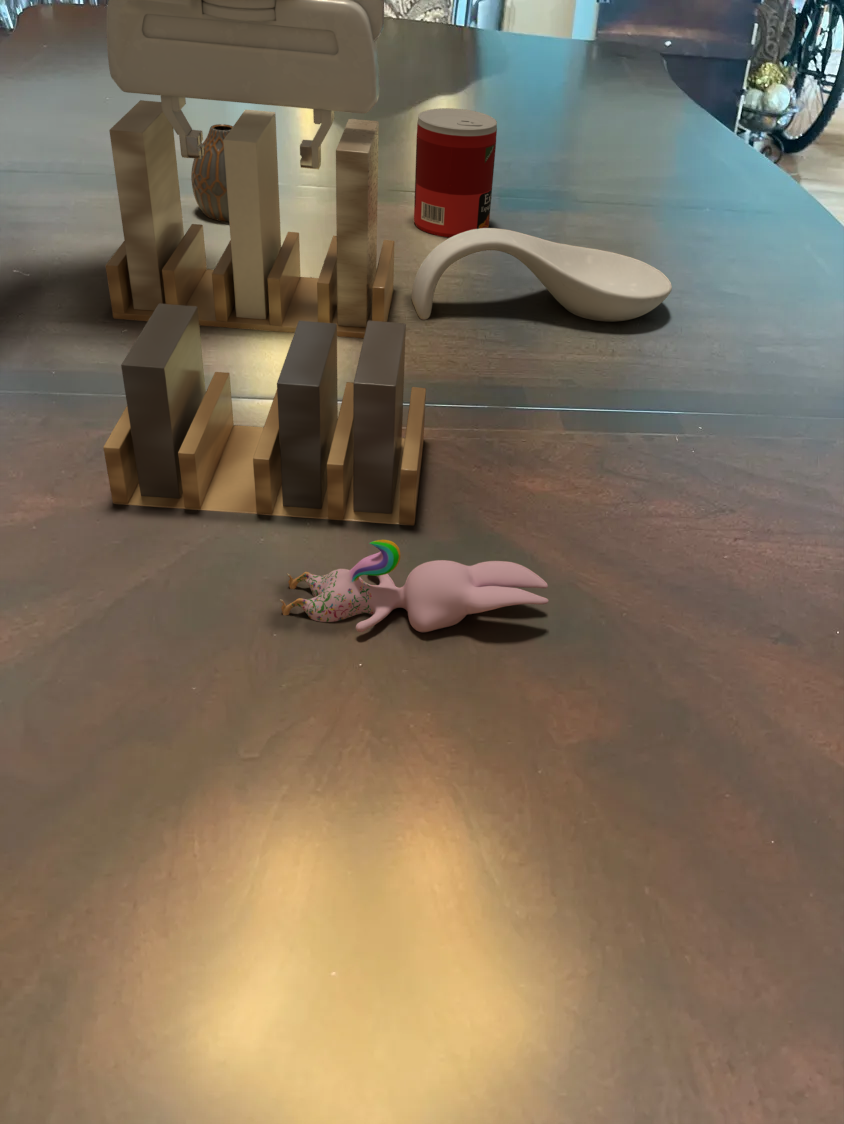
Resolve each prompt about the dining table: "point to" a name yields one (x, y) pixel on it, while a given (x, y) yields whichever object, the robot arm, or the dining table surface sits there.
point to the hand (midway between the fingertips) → (252, 161)
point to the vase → (212, 175)
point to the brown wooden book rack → (268, 429)
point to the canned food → (454, 170)
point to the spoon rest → (555, 274)
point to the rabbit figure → (416, 590)
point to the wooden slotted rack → (180, 262)
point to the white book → (253, 208)
